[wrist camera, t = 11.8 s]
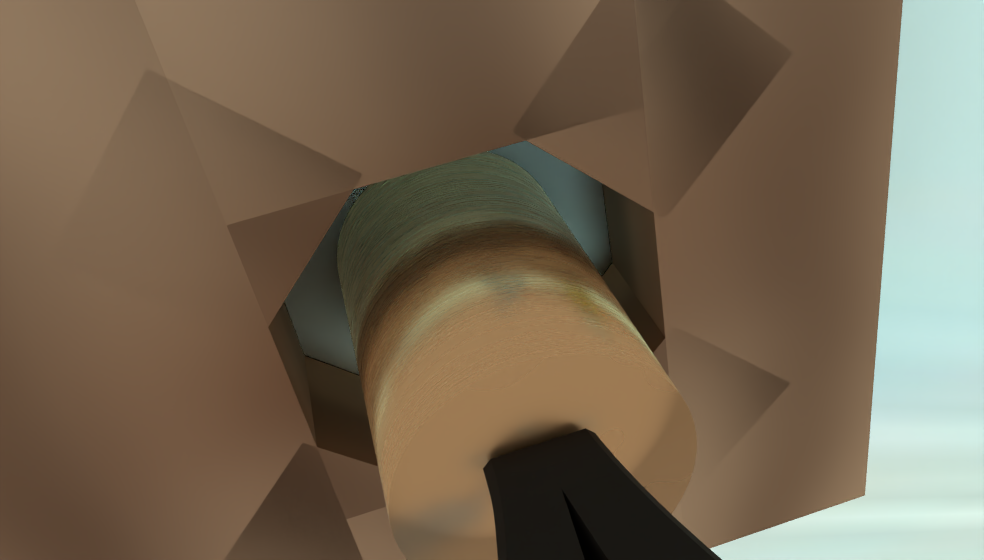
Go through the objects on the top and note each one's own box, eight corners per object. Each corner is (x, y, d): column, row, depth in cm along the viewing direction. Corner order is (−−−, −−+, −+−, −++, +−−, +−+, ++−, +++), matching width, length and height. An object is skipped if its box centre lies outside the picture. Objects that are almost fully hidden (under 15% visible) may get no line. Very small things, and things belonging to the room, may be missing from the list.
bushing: (371, 369, 17) (431, 633, 12) (307, 187, 15) (348, 418, 10) (571, 307, 18) (706, 538, 13) (536, 120, 15) (685, 312, 10)
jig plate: (-85, 710, 19) (-122, 831, 17) (-706, 80, 11) (-918, 167, 9) (801, 418, 21) (865, 495, 19) (814, -285, 13) (924, -282, 11)
